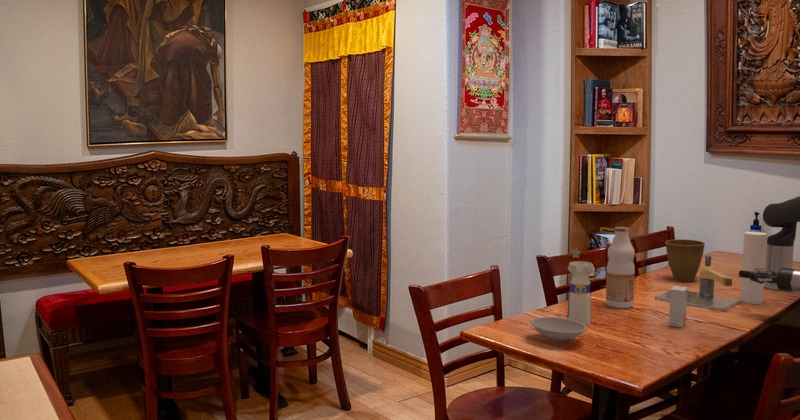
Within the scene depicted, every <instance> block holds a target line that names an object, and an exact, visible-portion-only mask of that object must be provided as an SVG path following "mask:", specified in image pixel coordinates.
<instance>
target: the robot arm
mask: <svg viewBox="0 0 800 420" xmlns="http://www.w3.org/2000/svg"><path fill="white" fill-rule="evenodd" d="M762 219H763V223H764V224H765V225H767V226H768V227H771V228H781V229H780V230H779V231H778V232H776V233H774V234H771V235H768V236H767V237H766V253H765V270H764V271H759V270H758V271H744V270H742V269H741V270H739V271H738V277H739V278H741V279H742V278H750V280H751V281H754V282H757V283H761V284H763V283H764V287H763V288H766V289H769V290H775V291H781V292H782V291H783V292H788V293H794V294H795V293H796V294H800V269H797V268H793V266H794V265H793V263H794V261H793V260H794V246H795V245H794V244H795V240H796V233H797V227H798V226H797V225H798V223H799V222H800V195H799V196H796V197H794V198H790V199H788V200H785V201H782V202H778V203H770V204H768V205H766V207H765V208H764V209H763V212H762Z"/></svg>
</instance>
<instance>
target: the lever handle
mask: <svg viewBox="0 0 800 420" xmlns="http://www.w3.org/2000/svg"><path fill="white" fill-rule="evenodd" d="M699 277H700V278H702V279H713V280H714V282H717V283H720V284H721V285H723V286H725V287H732V285H733V278H731V277H729V276H726V275H724V274H722V273H720V272H718V271H716V266H715V265H712V264H711V266H706V265H705V264H700V274H699ZM700 278H699V279H700Z"/></svg>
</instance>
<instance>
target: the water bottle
mask: <svg viewBox="0 0 800 420" xmlns="http://www.w3.org/2000/svg"><path fill="white" fill-rule="evenodd" d="M577 249H578V248H575V249H574V250H571V251H570V252H571V253H572V258H573V259H574V258H578V259H580V257H579V255H580V254H581V253H582V252H581V251H578V250H577ZM567 271H569V272H570V279H569V280H568V282H569V292H568V299H567V316H566V317H567V318H566V319H571V320H575V321H578V322H581V323H583V324H585V325H586V326H587V325H590V324H591V323H592V294H591V284H592V281H591V278H590V275H592V274H593V273H594V272H595V271H596V269H595V266H594V265H593V263H592V262H589V261H582V260H581V261H570V262H569V264H568V267H567Z"/></svg>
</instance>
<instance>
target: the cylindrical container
mask: <svg viewBox="0 0 800 420" xmlns="http://www.w3.org/2000/svg"><path fill="white" fill-rule="evenodd" d="M767 237H768V236H767V233H766V232H759V231H744V234H743V249H742V264H741V265H742V267H741V270H744V271H758V270H759V271H765V266H766V249H767ZM740 285H741V287H740V300H741V302H742V303H745V304H751V305H753V304H754V305H759V304H760V305H761V304H763V302H764V300H763V299H764V288H765V287H764V283H763V284H761V283H757V282H754V281H751V280H750V278H742V277H741V284H740Z"/></svg>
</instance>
